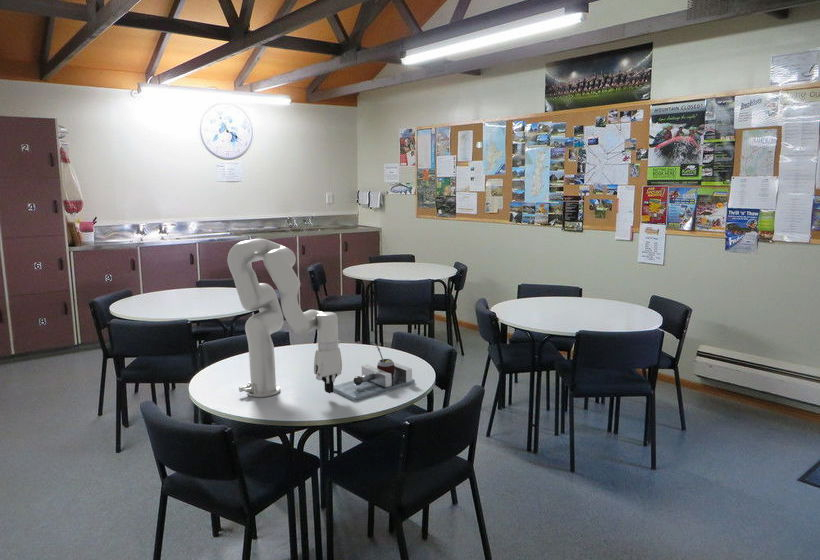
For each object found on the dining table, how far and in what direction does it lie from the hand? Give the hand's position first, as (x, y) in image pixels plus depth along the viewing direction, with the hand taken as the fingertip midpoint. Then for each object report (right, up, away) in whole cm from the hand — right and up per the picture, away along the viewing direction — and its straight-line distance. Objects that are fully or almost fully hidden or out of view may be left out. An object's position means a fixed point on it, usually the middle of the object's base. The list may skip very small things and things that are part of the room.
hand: (329, 391), depth 219 cm
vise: (+16, -1, +13) cm, 21 cm away
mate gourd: (+20, +2, +18) cm, 27 cm away
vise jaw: (+14, +1, +11) cm, 18 cm away
